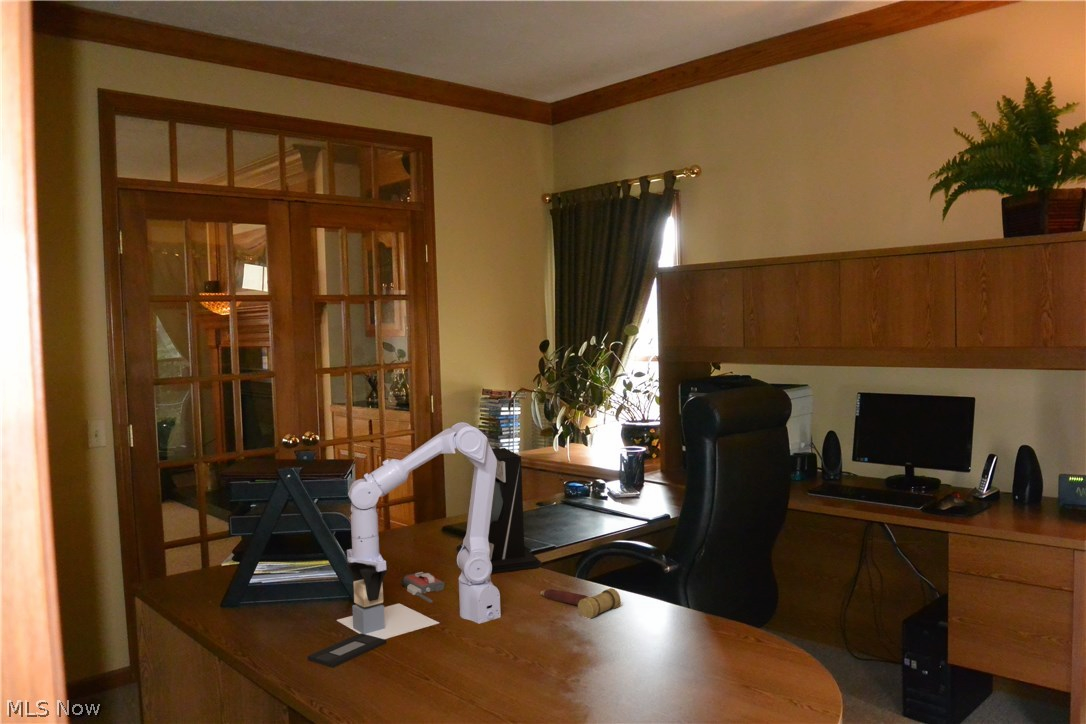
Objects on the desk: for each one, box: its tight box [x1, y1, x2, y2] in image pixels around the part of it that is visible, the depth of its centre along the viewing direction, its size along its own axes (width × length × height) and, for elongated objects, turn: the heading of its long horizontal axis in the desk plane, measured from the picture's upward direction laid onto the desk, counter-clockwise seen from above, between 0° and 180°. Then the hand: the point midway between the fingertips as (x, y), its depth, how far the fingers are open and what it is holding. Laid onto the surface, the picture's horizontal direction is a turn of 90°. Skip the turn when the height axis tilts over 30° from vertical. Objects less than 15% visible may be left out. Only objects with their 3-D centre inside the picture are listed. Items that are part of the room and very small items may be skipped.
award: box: [456, 447, 543, 575], centre depth 237 cm, size 30×19×30 cm, turn 17°
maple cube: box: [352, 579, 384, 607], centre depth 181 cm, size 5×5×5 cm
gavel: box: [540, 587, 621, 619], centre depth 195 cm, size 21×5×10 cm
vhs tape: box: [307, 633, 387, 669], centre depth 169 cm, size 8×14×2 cm, turn 146°
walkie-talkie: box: [400, 571, 446, 604], centre depth 207 cm, size 9×4×20 cm
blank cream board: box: [336, 603, 440, 640], centre depth 185 cm, size 18×16×1 cm
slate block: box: [351, 603, 385, 634], centre depth 181 cm, size 5×5×5 cm
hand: (367, 597), depth 181 cm, fingers closed on maple cube, 4 cm apart
